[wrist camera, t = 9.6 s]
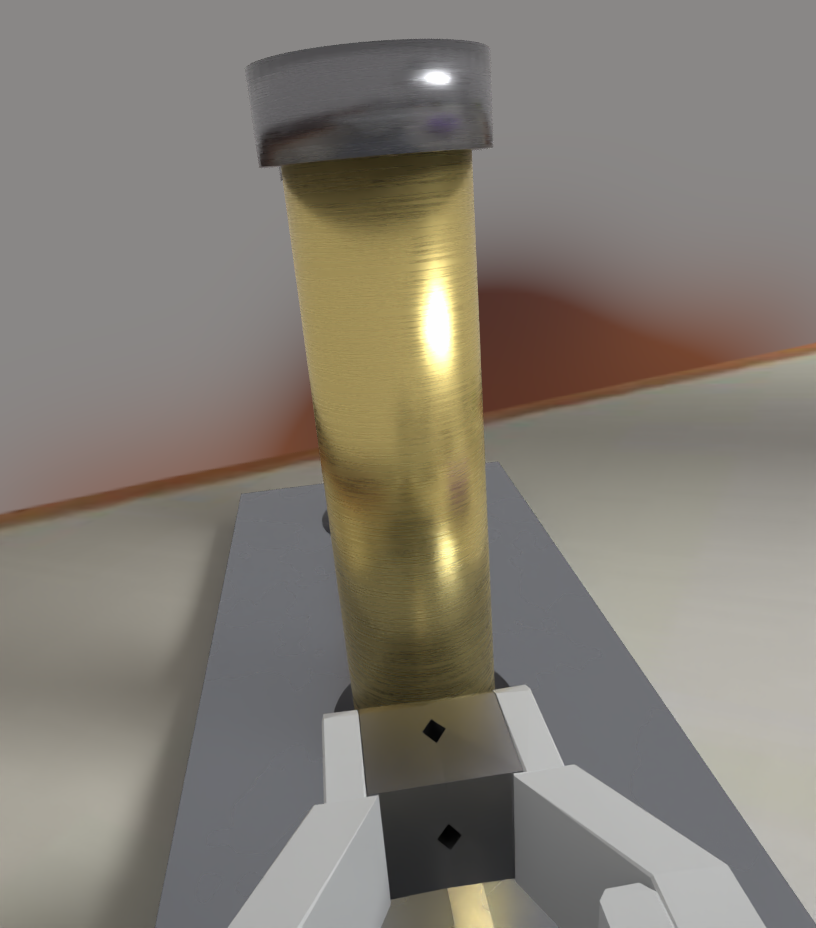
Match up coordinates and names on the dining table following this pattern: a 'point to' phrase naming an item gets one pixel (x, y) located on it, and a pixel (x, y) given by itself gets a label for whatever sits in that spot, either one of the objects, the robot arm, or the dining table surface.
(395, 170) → the pin
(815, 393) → the dining table surface
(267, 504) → the plate
